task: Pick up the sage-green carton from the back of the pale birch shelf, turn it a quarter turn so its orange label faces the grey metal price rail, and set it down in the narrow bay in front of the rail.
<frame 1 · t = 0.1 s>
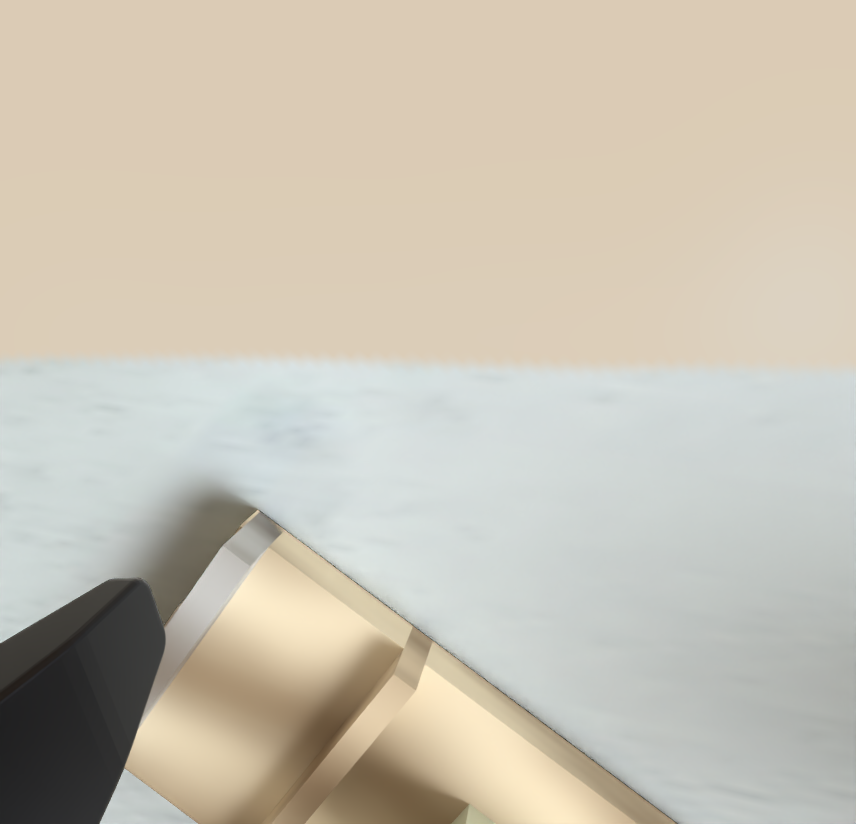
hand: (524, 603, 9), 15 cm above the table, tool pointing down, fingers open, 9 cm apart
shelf: (416, 794, 28), on the table
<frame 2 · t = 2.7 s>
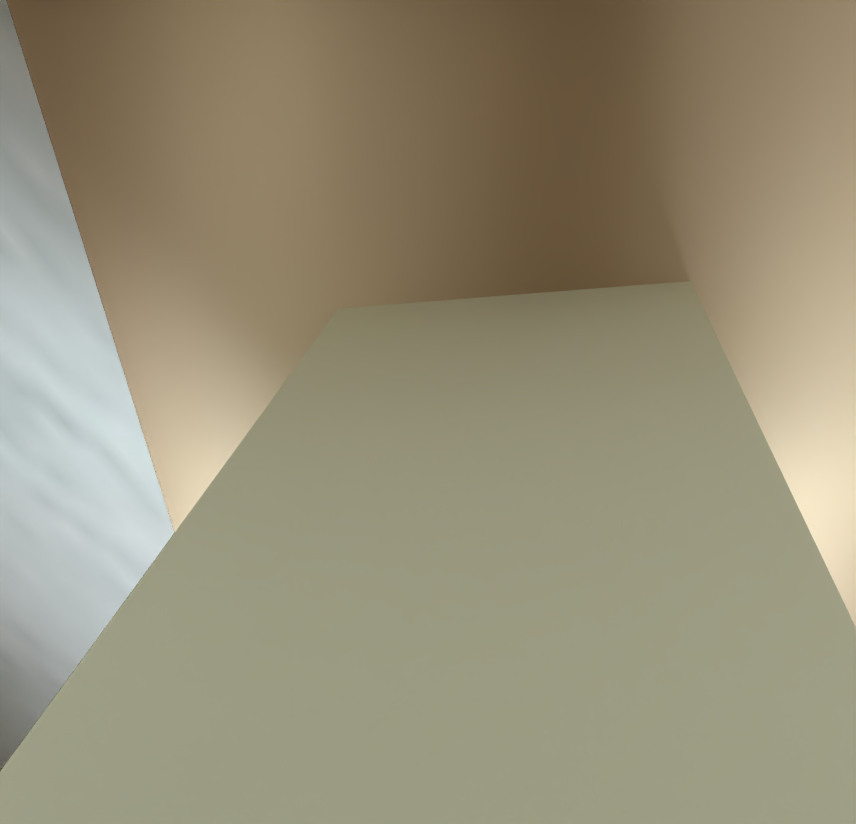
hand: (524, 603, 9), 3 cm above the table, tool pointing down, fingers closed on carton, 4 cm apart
carton: (527, 516, 11), point 2 cm above the table, touching gripper, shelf
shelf: (508, 181, 10), on the table
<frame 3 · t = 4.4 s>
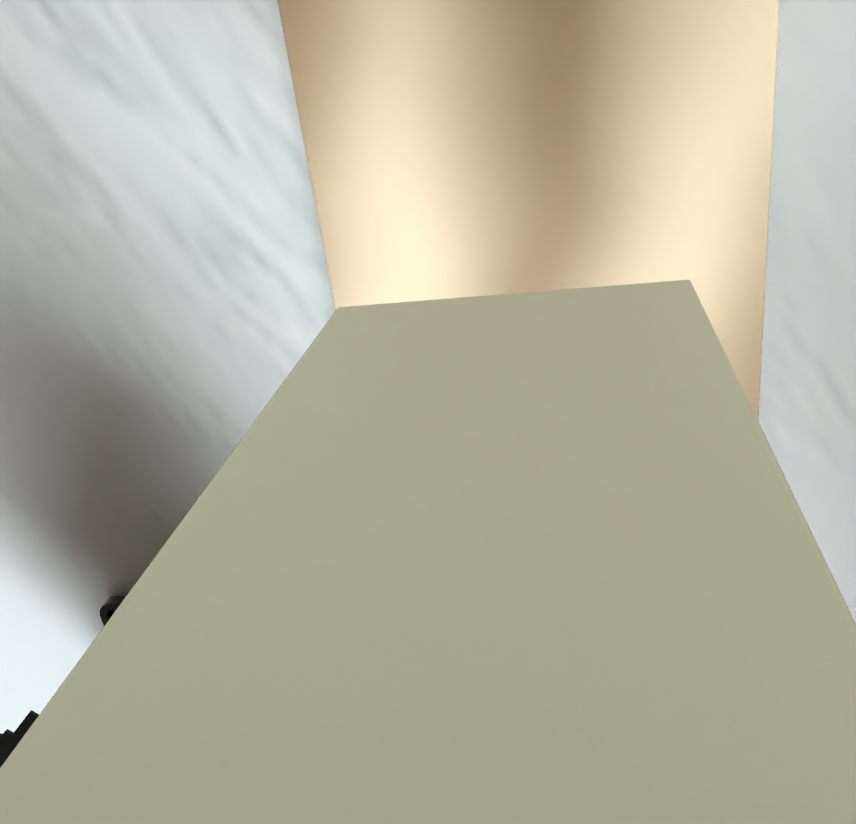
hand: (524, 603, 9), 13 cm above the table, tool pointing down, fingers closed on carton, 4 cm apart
carton: (526, 515, 11), point 11 cm above the table, touching gripper
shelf: (529, 104, 19), on the table
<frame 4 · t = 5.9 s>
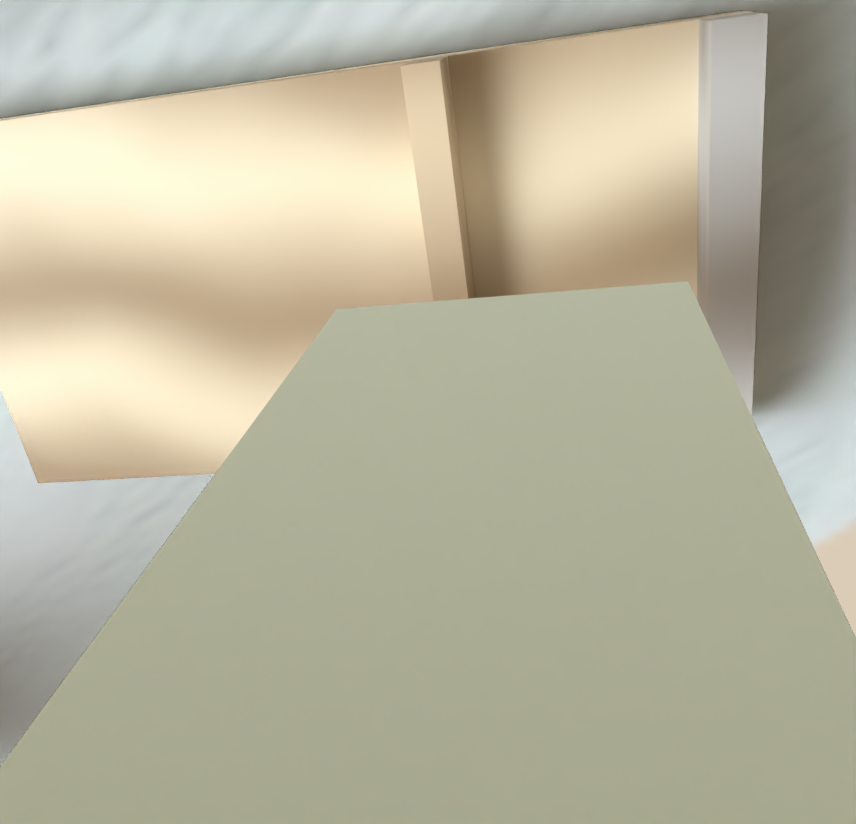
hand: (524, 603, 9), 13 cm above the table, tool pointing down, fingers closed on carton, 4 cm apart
carton: (525, 517, 11), point 12 cm above the table, touching gripper
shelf: (340, 275, 22), on the table
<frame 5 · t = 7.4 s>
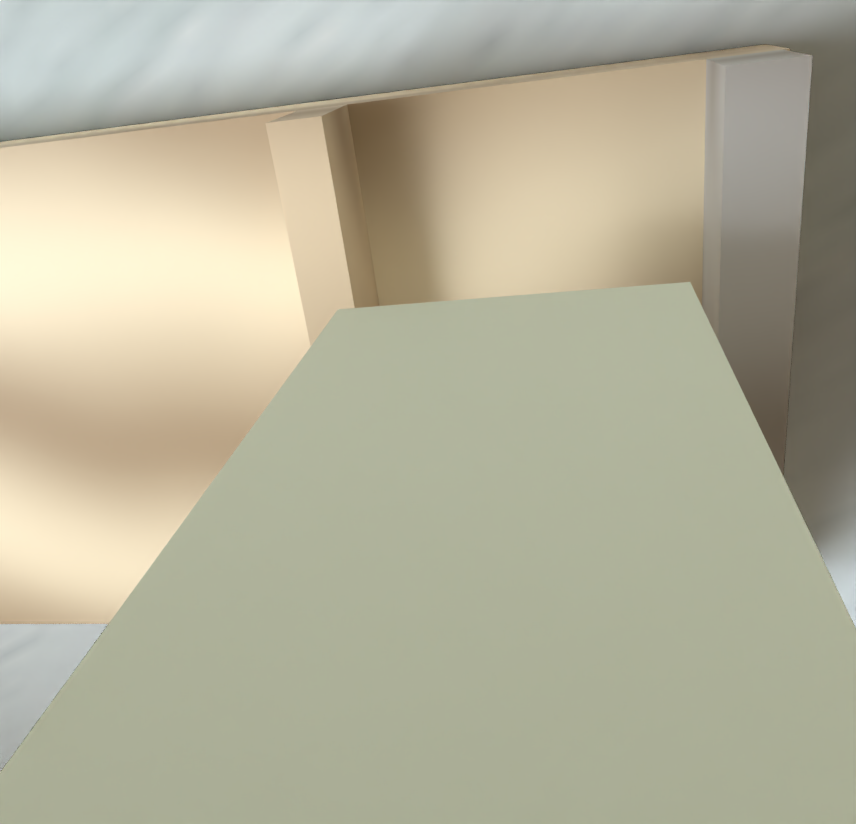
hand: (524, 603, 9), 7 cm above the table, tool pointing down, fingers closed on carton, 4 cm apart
carton: (526, 517, 10), point 5 cm above the table, touching gripper
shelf: (230, 379, 16), on the table
when the fingers open (4 cm above the table, at t = 8.9 s): carton stays where it is, resting on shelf.
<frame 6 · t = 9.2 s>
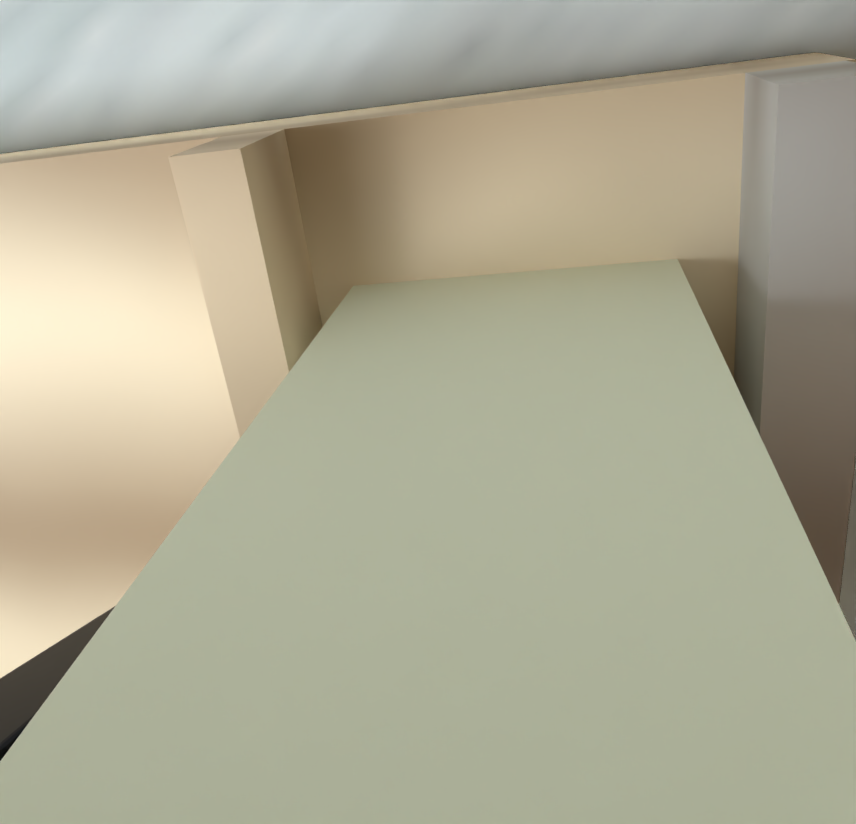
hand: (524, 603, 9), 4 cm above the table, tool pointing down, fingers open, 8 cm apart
carton: (527, 481, 11), point 1 cm above the table, touching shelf
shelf: (164, 449, 14), on the table
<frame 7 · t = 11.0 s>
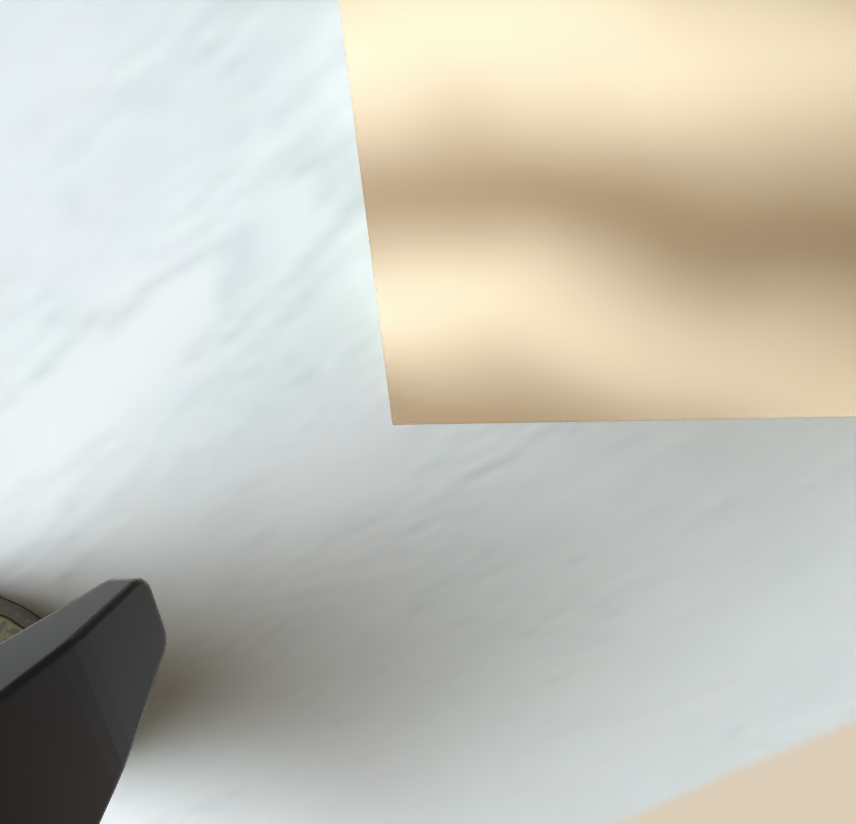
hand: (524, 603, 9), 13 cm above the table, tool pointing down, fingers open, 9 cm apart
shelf: (805, 193, 19), on the table
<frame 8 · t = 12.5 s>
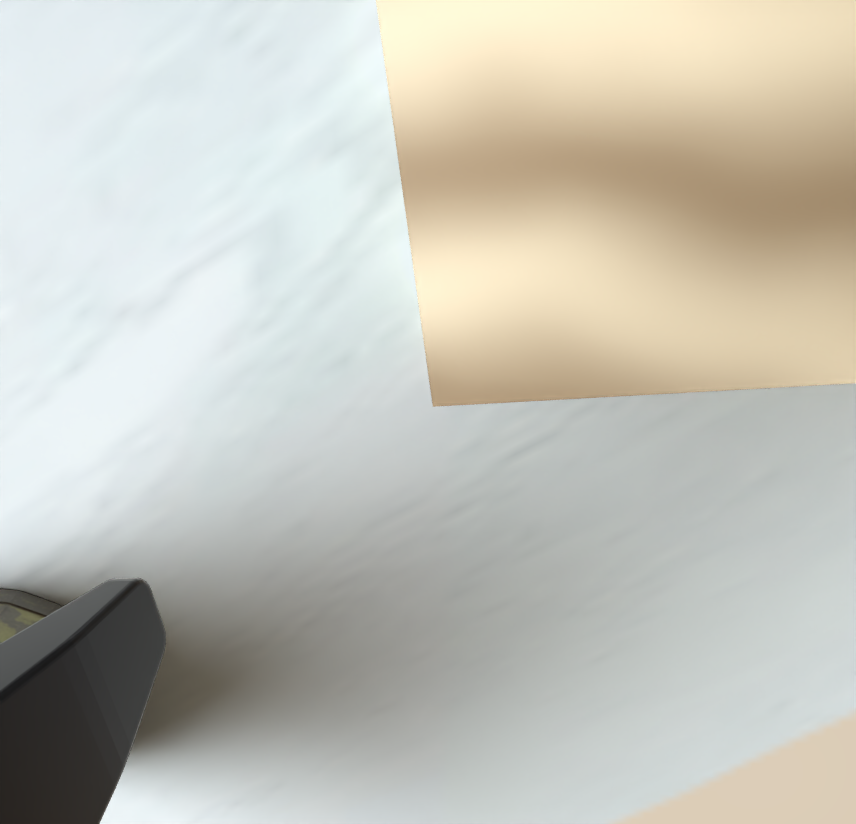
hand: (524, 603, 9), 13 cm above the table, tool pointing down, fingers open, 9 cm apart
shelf: (847, 155, 18), on the table
thermos: (30, 674, 30), on the table
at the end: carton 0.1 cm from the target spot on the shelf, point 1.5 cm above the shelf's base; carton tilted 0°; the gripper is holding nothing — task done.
